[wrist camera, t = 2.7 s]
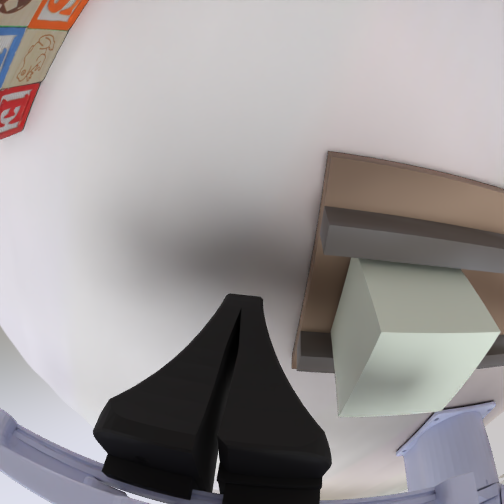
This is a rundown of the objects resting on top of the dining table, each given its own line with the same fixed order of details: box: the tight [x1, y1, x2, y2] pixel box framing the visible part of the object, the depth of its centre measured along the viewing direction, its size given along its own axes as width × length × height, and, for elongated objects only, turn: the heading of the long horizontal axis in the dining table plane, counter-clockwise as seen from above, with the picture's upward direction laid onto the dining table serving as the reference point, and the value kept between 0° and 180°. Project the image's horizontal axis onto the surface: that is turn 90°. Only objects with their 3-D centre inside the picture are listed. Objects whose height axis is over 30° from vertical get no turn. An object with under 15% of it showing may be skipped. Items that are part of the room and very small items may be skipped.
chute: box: [292, 151, 504, 373], centre depth 12 cm, size 12×22×4 cm, turn 87°
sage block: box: [331, 257, 501, 417], centre depth 11 cm, size 5×5×5 cm
